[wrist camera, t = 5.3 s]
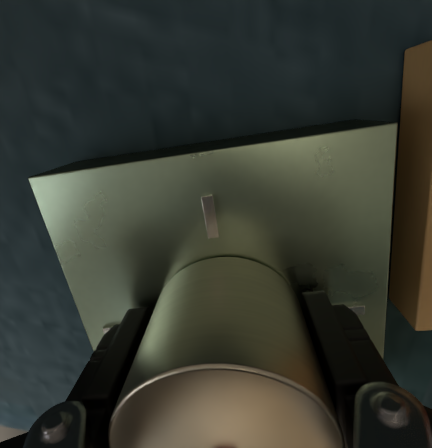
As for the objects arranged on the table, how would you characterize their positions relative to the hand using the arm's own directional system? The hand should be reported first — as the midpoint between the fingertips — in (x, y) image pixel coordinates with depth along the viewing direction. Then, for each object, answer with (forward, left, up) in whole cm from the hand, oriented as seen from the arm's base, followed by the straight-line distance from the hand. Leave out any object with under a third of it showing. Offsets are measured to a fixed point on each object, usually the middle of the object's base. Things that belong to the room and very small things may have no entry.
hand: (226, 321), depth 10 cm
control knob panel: (0, 0, -3) cm, 3 cm away
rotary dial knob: (0, 0, 0) cm, 0 cm away
